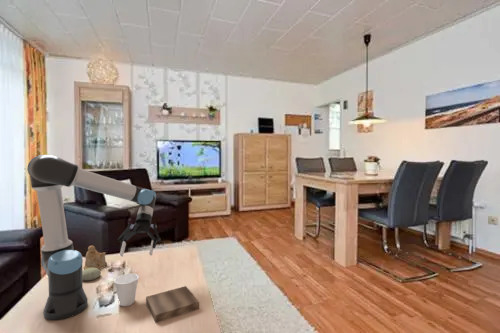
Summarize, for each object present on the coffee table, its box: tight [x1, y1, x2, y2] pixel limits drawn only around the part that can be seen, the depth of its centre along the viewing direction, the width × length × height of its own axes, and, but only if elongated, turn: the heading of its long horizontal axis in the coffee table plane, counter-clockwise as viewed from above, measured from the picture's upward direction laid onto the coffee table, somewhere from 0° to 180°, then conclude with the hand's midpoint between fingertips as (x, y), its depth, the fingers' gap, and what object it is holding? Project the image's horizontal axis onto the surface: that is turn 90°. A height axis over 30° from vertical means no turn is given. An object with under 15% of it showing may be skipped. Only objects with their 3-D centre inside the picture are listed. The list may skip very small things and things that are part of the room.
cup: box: [113, 272, 140, 307], centre depth 117 cm, size 10×10×11 cm
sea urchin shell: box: [82, 267, 102, 282], centre depth 140 cm, size 9×8×8 cm
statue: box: [83, 245, 108, 271], centre depth 154 cm, size 12×14×10 cm
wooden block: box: [145, 285, 200, 324], centre depth 115 cm, size 18×16×3 cm
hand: (135, 254), depth 128 cm, fingers open, 13 cm apart
